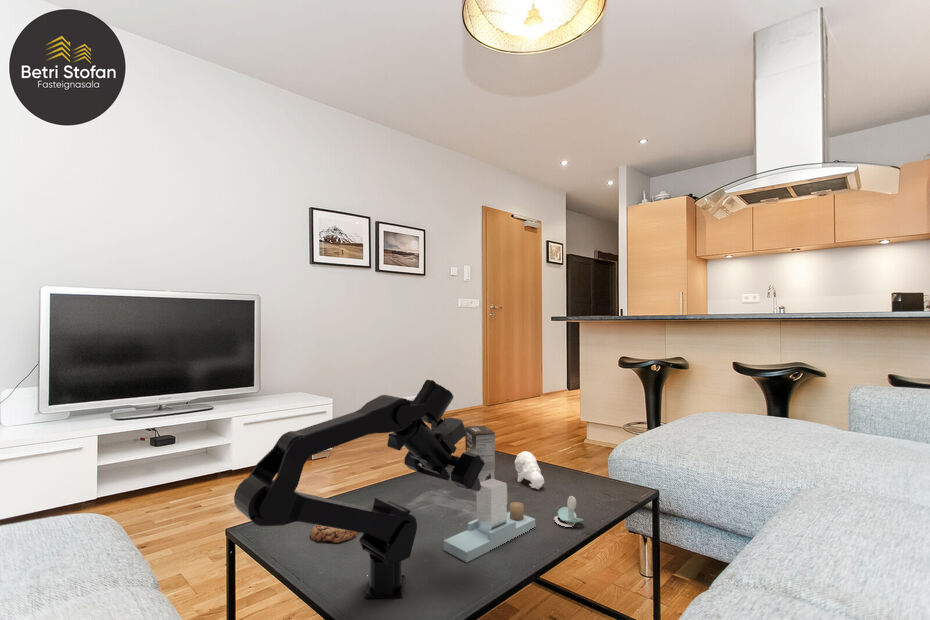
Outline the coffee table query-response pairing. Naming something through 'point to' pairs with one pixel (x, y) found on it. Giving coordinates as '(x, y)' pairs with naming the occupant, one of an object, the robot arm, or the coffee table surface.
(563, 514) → the pacifier
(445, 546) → the blue stand
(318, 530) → the cookie
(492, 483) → the white rectangular block
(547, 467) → the coffee table surface
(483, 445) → the coffee box
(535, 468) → the white animal figurine
